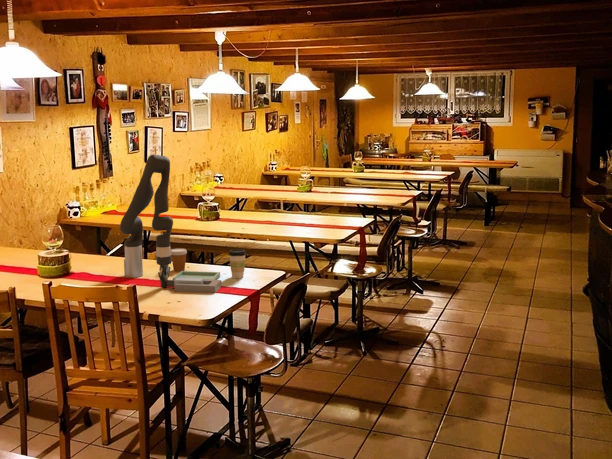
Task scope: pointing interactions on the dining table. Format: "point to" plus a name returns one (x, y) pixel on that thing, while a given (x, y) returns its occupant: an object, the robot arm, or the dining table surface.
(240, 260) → the coffee cup
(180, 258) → the disposable coffee cup
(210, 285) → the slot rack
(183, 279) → the tall grey bar
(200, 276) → the tray
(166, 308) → the dining table surface
